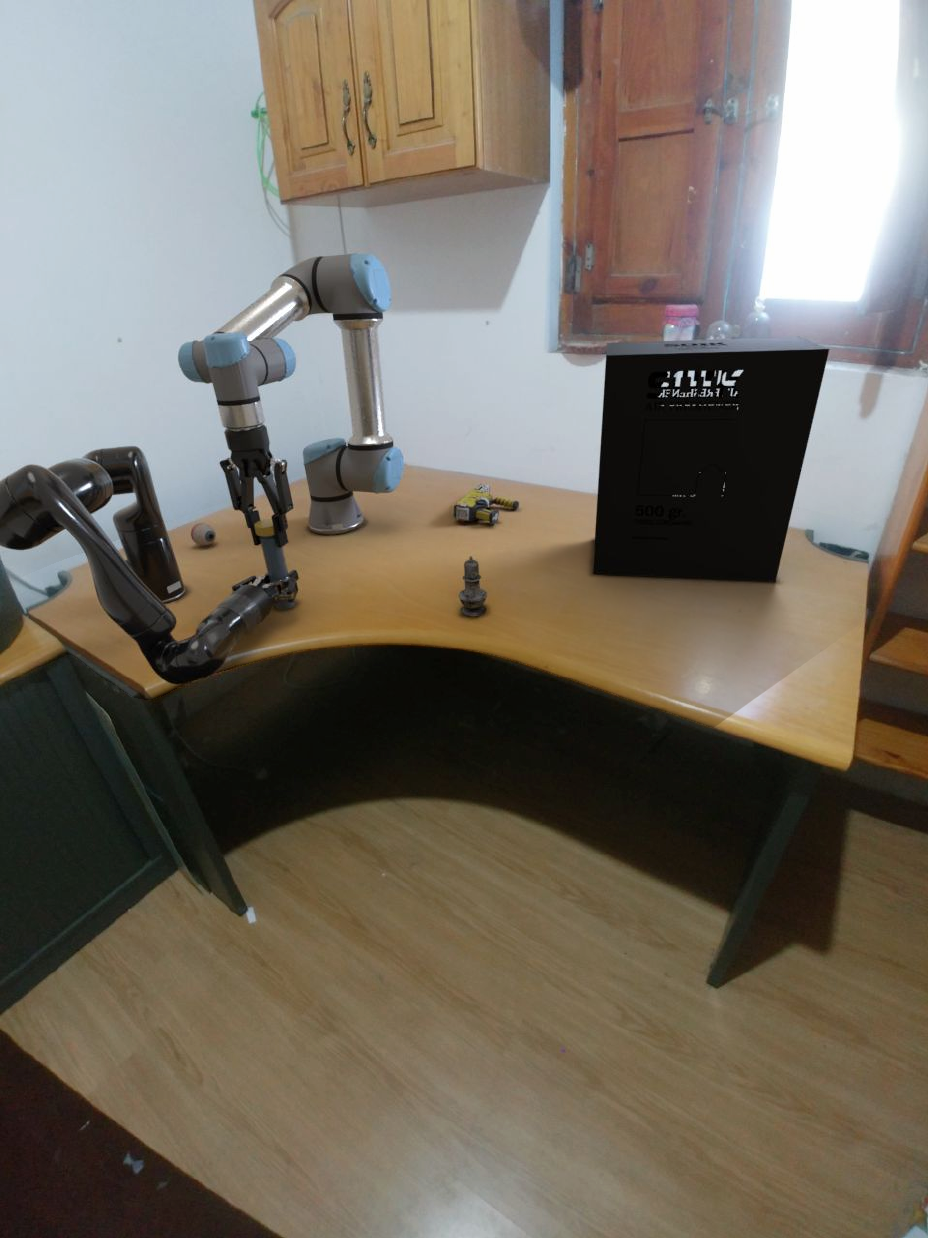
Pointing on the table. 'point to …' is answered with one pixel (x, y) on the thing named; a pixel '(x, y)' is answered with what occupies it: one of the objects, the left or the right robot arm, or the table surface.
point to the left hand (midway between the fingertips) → (285, 573)
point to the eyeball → (203, 534)
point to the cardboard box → (703, 455)
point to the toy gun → (480, 505)
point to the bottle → (275, 565)
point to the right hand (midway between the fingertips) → (271, 543)
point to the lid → (264, 528)
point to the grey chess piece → (472, 590)
